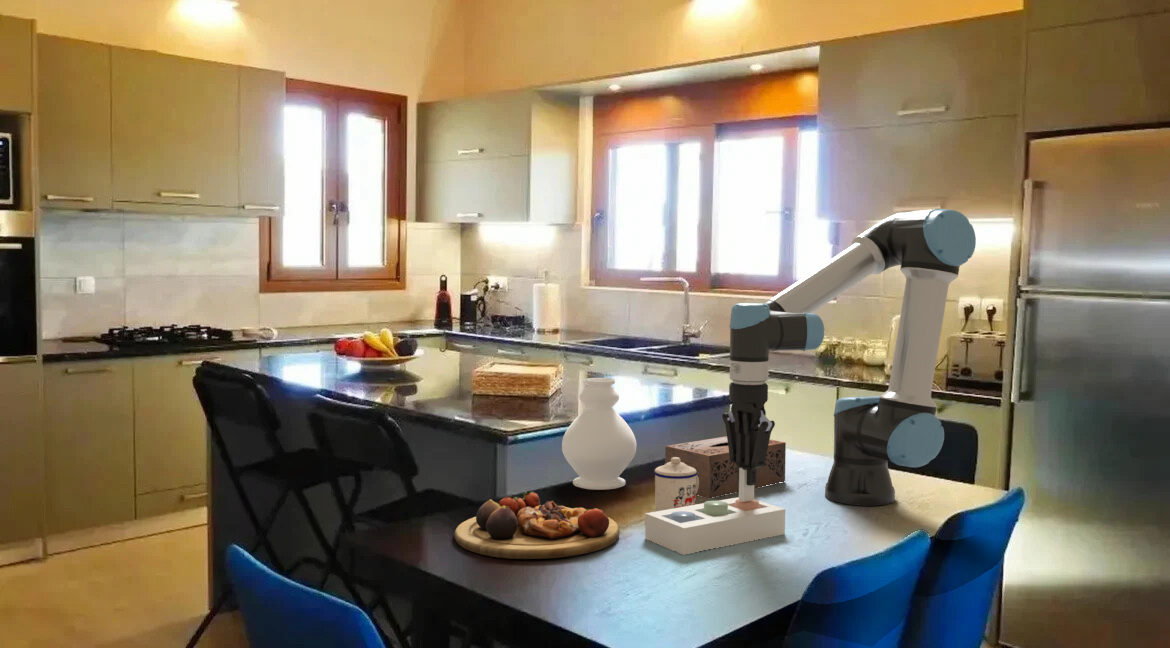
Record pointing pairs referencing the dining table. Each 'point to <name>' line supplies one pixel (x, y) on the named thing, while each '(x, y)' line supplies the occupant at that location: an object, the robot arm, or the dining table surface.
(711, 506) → the button sage
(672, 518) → the button slate
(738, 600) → the dining table surface
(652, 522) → the tray
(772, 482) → the tissue box cover
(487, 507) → the wooden plate with food
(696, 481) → the teacup with lid
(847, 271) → the robot arm
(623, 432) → the decorative vase
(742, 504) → the button terracotta
